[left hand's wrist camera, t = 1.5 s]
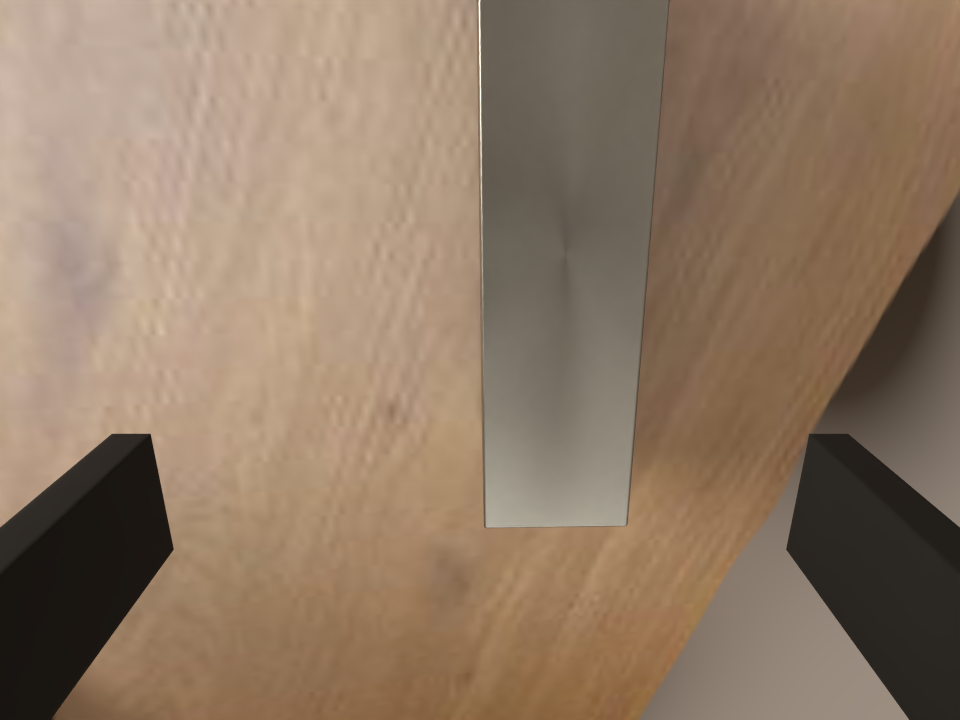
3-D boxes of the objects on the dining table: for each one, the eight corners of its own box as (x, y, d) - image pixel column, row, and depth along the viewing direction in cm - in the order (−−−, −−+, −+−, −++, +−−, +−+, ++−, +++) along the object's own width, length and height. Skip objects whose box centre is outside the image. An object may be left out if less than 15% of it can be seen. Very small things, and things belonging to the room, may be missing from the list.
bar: (592, 433, 32) (628, 526, 24) (482, 435, 32) (484, 529, 24) (619, -58, 25) (681, -138, 17) (476, -56, 25) (476, -135, 17)
